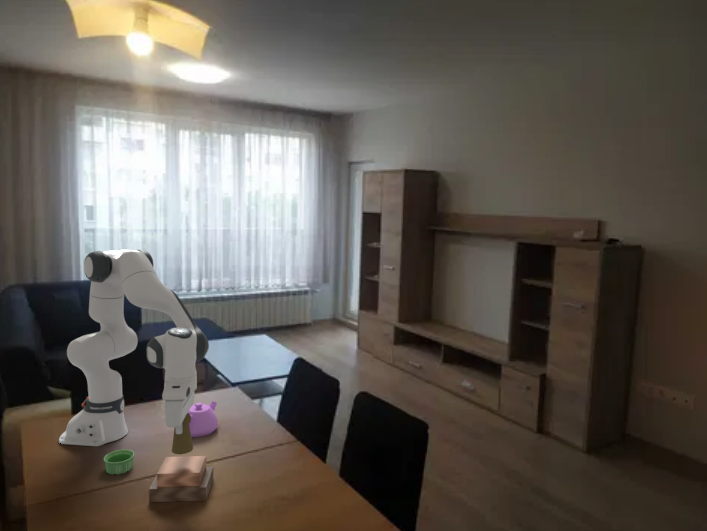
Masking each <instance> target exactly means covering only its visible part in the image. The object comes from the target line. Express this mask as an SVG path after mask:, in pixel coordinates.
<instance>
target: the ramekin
mask: <svg viewBox="0 0 707 531" xmlns="http://www.w3.org/2000/svg"><path fill="white" fill-rule="evenodd" d="M134 458H135V452H134V451H133V450H132V449H117V450H114V451H111V452H109V453H107V454H105V455H104V457H103V462H104V467H105V471H106V474H108V473H109V475H113V474H117V475H122V474H125V473H127V471H128V472H129V471H131V470H132V469H133V467H134ZM121 473H122V474H121Z"/></svg>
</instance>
